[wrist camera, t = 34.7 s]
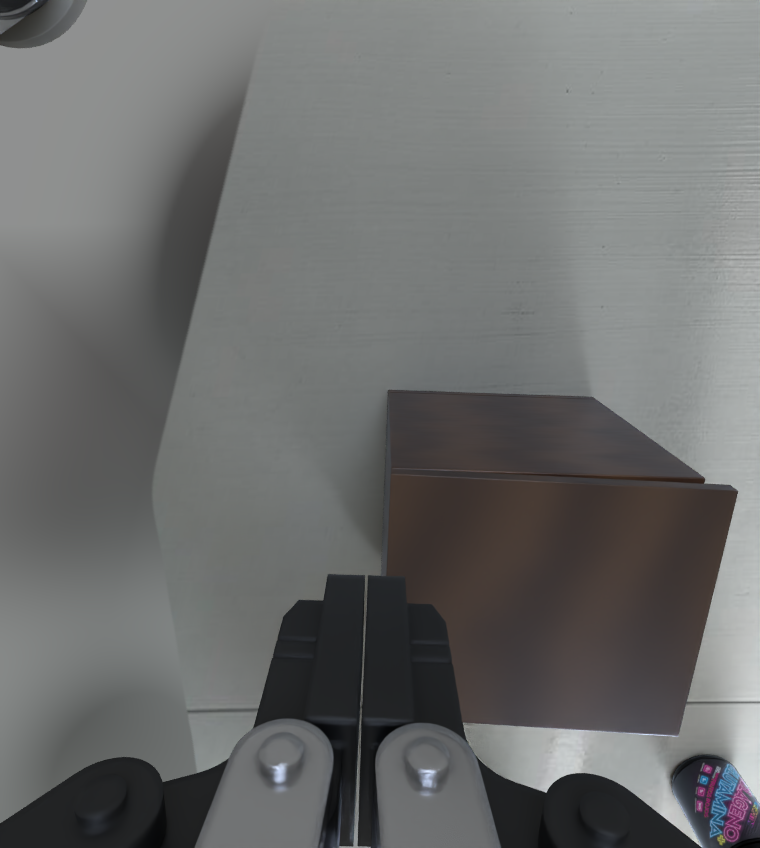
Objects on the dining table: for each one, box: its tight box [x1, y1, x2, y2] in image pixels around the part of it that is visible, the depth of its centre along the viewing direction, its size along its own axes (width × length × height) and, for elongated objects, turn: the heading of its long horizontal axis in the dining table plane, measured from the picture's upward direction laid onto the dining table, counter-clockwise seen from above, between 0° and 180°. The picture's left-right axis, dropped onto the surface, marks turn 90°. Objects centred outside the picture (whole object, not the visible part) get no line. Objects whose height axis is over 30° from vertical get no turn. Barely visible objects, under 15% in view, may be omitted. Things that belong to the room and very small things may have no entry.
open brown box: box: [381, 390, 705, 576], centre depth 40 cm, size 17×16×17 cm
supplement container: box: [672, 755, 760, 848], centre depth 53 cm, size 7×7×10 cm
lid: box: [386, 468, 738, 736], centre depth 31 cm, size 17×16×1 cm
